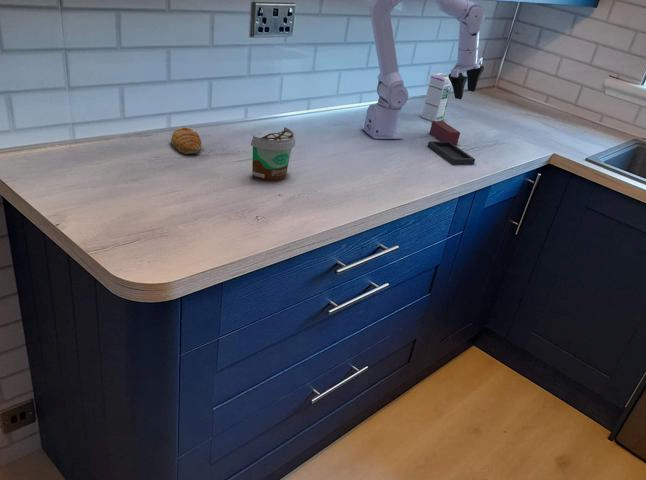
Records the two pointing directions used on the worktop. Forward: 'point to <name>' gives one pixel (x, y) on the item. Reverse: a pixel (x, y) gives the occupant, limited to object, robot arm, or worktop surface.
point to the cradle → (451, 152)
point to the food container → (272, 155)
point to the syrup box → (437, 97)
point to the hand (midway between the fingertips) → (465, 94)
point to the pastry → (186, 140)
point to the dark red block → (444, 132)
